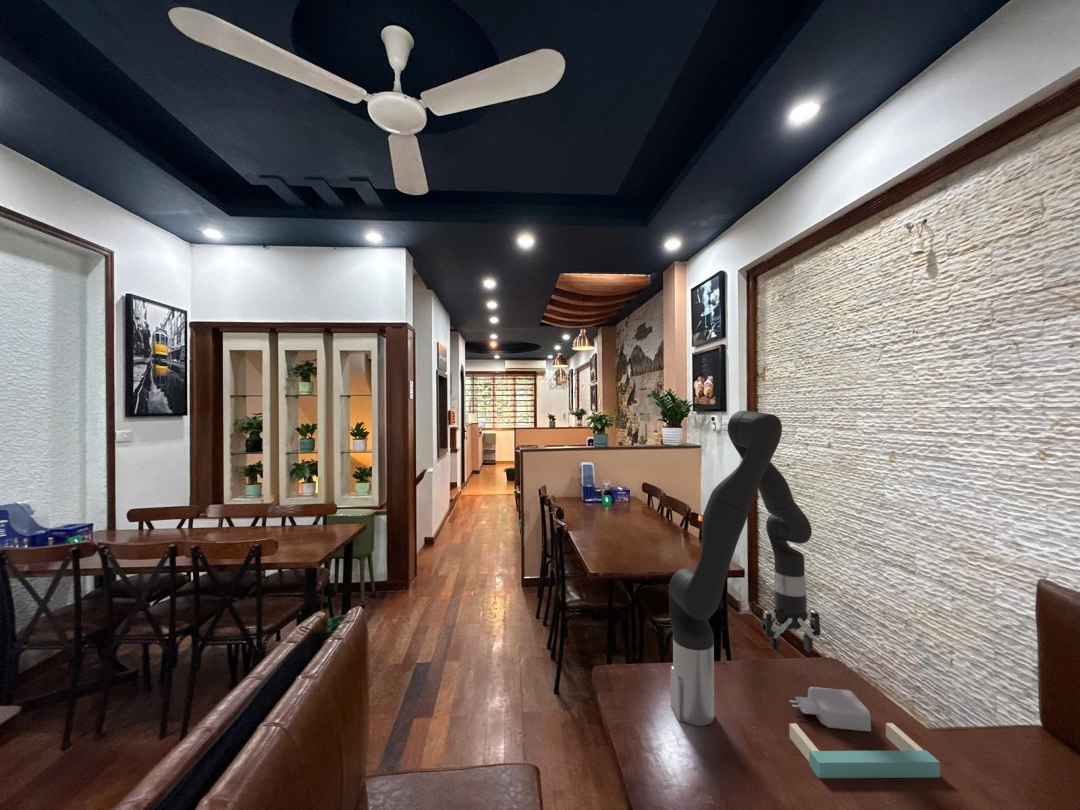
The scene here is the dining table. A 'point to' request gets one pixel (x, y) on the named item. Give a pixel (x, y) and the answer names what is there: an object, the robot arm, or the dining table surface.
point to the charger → (835, 708)
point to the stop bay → (869, 758)
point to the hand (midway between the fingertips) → (791, 650)
